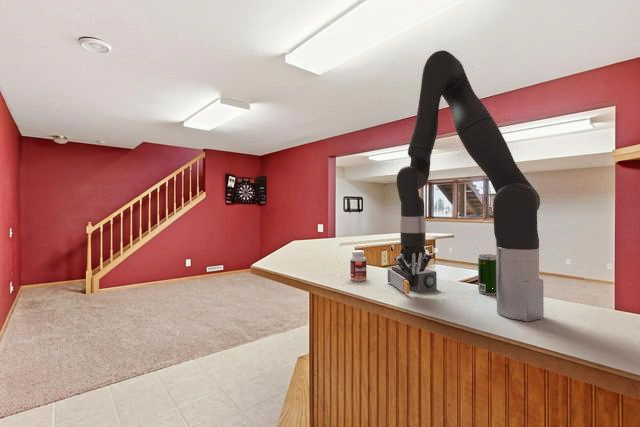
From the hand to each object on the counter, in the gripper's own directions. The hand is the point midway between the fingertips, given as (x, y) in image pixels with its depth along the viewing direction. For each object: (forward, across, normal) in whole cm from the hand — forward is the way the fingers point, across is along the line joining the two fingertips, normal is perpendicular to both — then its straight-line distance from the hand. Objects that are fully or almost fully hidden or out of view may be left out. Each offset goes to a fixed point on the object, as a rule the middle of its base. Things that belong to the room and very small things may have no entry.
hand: (413, 285), depth 99 cm
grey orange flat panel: (+3, 0, +8) cm, 9 cm away
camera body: (+3, +7, +9) cm, 12 cm away
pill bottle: (+3, -5, +27) cm, 27 cm away
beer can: (+3, +22, -8) cm, 24 cm away
